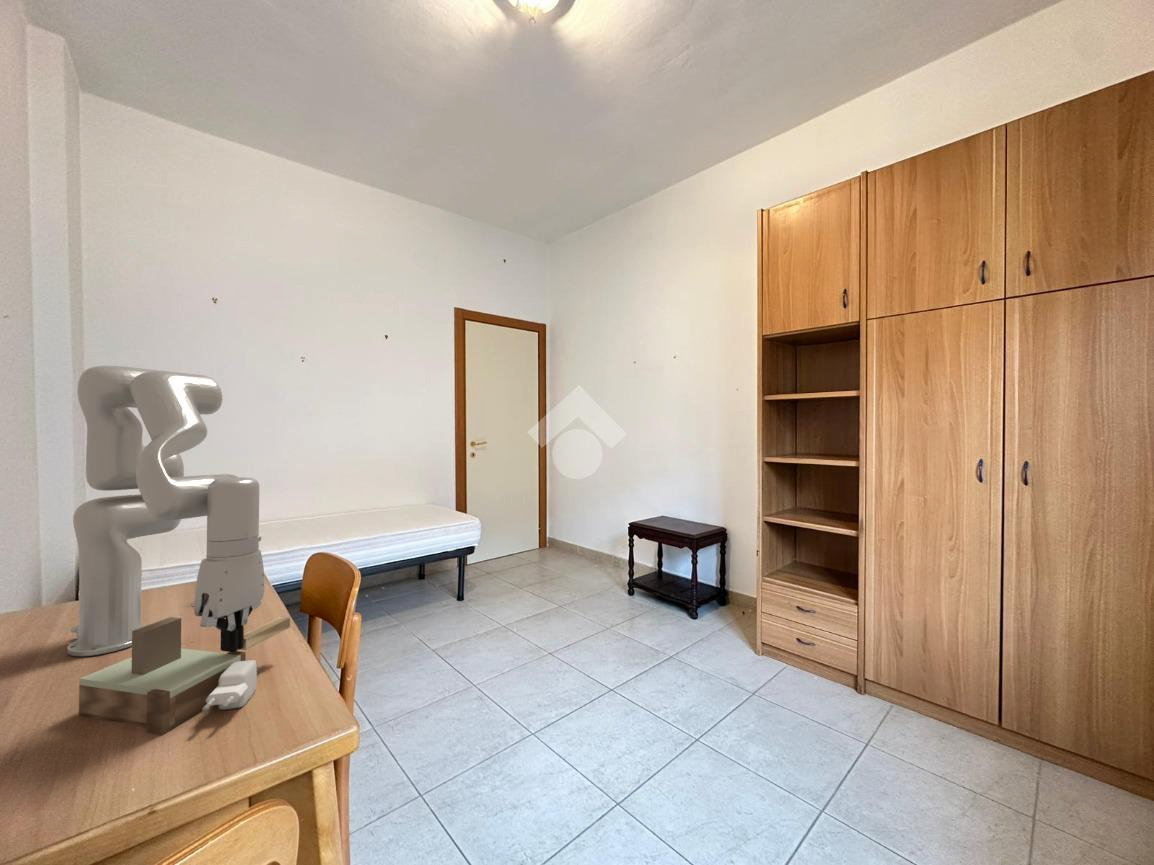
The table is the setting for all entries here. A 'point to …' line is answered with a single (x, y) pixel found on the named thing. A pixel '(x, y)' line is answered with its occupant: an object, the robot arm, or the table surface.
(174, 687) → the lid
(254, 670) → the power adapter
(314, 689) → the table surface
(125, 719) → the brown wooden open box
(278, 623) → the tan rectangular block
